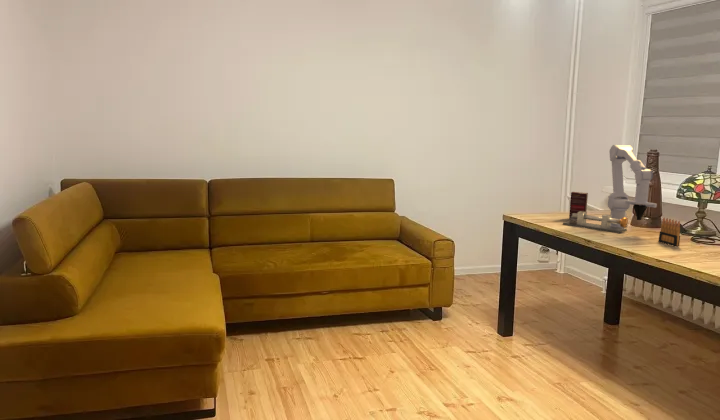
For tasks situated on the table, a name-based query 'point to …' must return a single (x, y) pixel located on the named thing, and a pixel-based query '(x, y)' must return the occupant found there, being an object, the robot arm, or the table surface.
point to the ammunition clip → (670, 232)
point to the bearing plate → (604, 224)
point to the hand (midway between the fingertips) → (638, 219)
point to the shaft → (622, 222)
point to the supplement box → (577, 203)
